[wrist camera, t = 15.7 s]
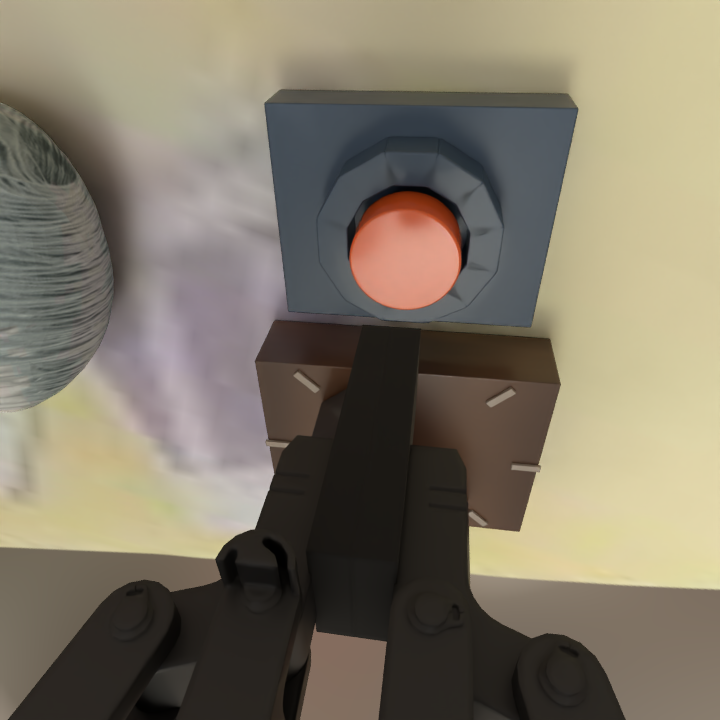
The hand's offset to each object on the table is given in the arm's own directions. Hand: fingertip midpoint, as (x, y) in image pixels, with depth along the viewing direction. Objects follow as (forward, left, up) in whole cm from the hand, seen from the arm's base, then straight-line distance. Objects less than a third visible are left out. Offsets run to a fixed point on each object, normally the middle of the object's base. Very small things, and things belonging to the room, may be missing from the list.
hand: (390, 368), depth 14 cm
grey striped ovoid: (-18, -2, -12) cm, 22 cm away
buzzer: (0, 0, -11) cm, 11 cm away
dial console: (0, -12, -11) cm, 17 cm away
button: (0, 0, -8) cm, 8 cm away
